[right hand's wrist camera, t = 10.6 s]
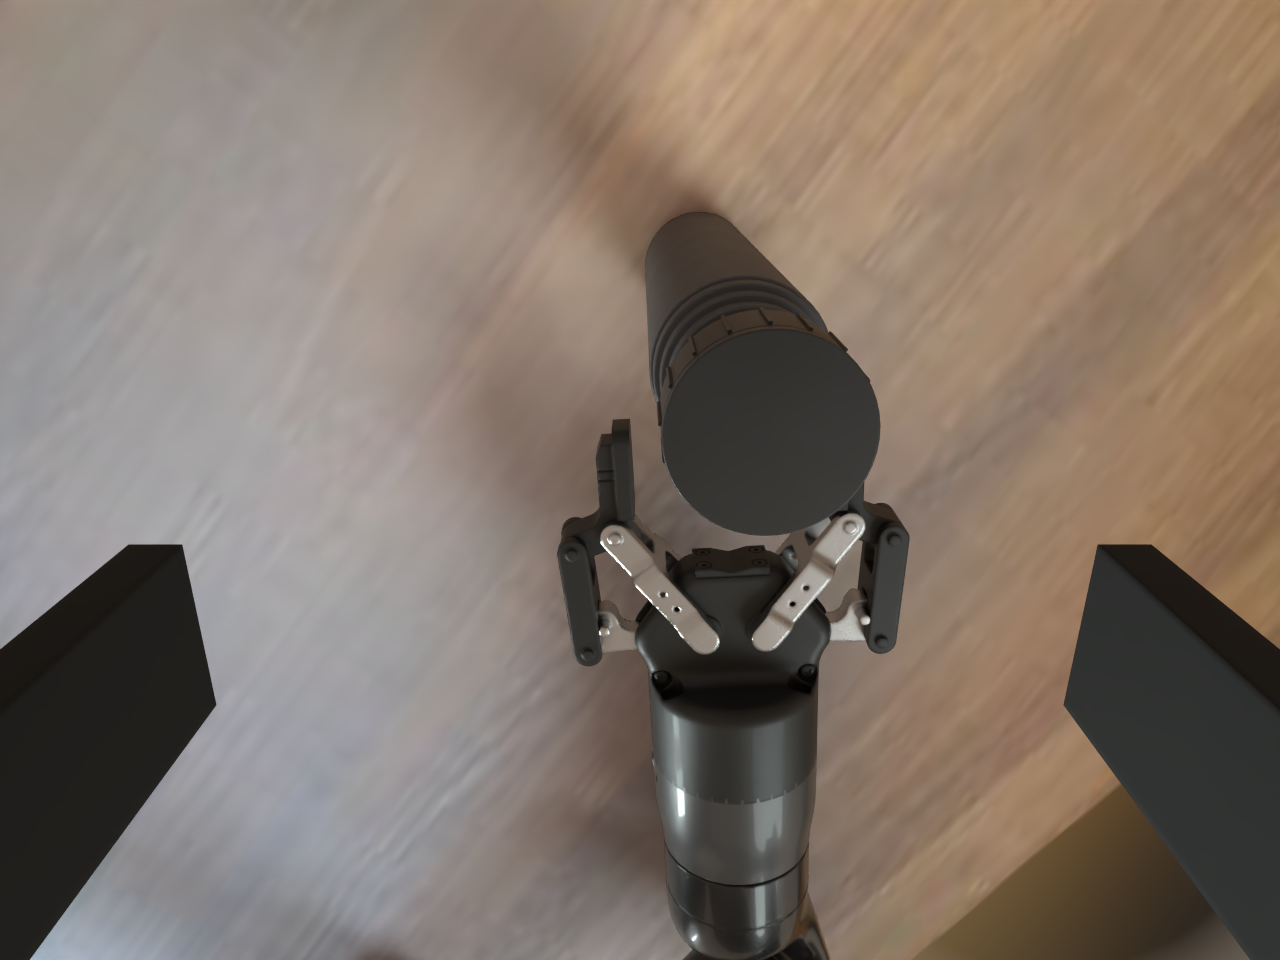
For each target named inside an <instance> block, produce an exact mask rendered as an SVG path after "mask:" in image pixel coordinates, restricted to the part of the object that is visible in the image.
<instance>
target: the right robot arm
mask: <svg viewBox="0 0 1280 960" xmlns="http://www.w3.org/2000/svg"><path fill="white" fill-rule="evenodd" d="M215 706H216V701H215V696H214V692H213V687H212V682H211V677H210V673H209V668H208V663H207V659H206V654H205V649H204V645H203V640H202V635H201V631H200V626H199V621H198V616H197V612H196V607H195V602H194V598H193V593H192V588H191V584H190V579H189V574H188V570H187V565H186V560H185V556H184V551H183V546H182V545H128V546H126V547H125V548H124V549H123V550H121V551H120V552H119V553H118V554H117V555H115V556H114V557H113V558H112V559H110V560H109V561H108V562H107V563H106V564H104V565H103V566H102V567H101V568H99V569H98V570H97V571H96V572H95V573H93V574H92V575H91V576H90V577H88V578H87V579H86V580H85V581H83V582H82V583H81V584H80V585H79V586H77V587H76V588H75V589H74V590H72V591H71V592H70V593H69V594H68V595H66V596H65V597H64V598H63V599H61V600H60V601H59V602H58V603H57V604H55V605H54V606H53V607H52V608H50V609H49V610H48V611H47V612H46V613H44V614H43V615H42V616H41V617H39V618H38V619H37V620H36V621H34V622H33V623H32V624H31V625H30V626H28V627H27V628H26V629H25V630H23V631H22V632H21V633H20V634H19V635H17V636H16V637H15V638H14V639H12V640H11V641H10V642H9V643H8V644H6V645H5V646H4V647H3V648H1V649H0V960H30V959H31V957H32V956H33V954H34V953H35V952H36V950H37V949H38V948H39V946H40V945H41V944H42V942H43V941H44V939H45V938H46V937H47V935H48V934H49V933H50V931H51V930H52V929H53V927H54V926H55V924H56V923H57V922H58V920H59V919H60V918H61V916H62V915H63V914H64V912H65V911H66V909H67V908H68V907H69V905H70V904H71V903H72V901H73V900H74V899H75V897H76V896H77V894H78V893H79V892H80V890H81V889H82V888H83V886H84V885H85V884H86V882H87V881H88V879H89V878H90V877H91V875H92V874H93V873H94V871H95V870H96V869H97V867H98V866H99V864H100V863H101V862H102V860H103V859H104V858H105V856H106V855H107V854H108V852H109V851H110V849H111V848H112V847H113V845H114V844H115V843H116V841H117V840H118V839H119V837H120V836H121V834H122V833H123V832H124V830H125V829H126V828H127V826H128V825H129V824H130V822H131V821H132V819H133V818H134V817H135V815H136V814H137V813H138V811H139V810H140V809H141V807H142V806H143V804H144V803H145V802H146V800H147V799H148V798H149V796H150V795H151V794H152V792H153V791H154V789H155V788H156V787H157V785H158V784H159V783H160V781H161V780H162V779H163V777H164V776H165V774H166V773H167V772H168V770H169V769H170V768H171V766H172V765H173V764H174V762H175V761H176V759H177V758H178V757H179V755H180V754H181V753H182V751H183V750H184V749H185V747H186V746H187V744H188V743H189V742H190V740H191V739H192V738H193V736H194V735H195V734H196V732H197V731H198V729H199V728H200V727H201V725H202V724H203V723H204V721H205V720H206V719H207V717H208V716H209V714H210V713H211V712H212V710H213V709H214V708H215ZM1064 706H1065V708H1066V709H1067V710H1068V712H1069V713H1070V714H1071V716H1072V717H1073V719H1074V720H1075V721H1076V723H1077V724H1078V725H1079V727H1080V728H1081V729H1082V731H1083V732H1084V734H1085V735H1086V736H1087V738H1088V739H1089V740H1090V742H1091V743H1092V744H1093V746H1094V747H1095V749H1096V750H1097V751H1098V753H1099V754H1100V755H1101V757H1102V758H1103V759H1104V761H1105V762H1106V764H1107V765H1108V766H1109V768H1110V769H1111V770H1112V772H1113V773H1114V774H1115V776H1116V777H1117V779H1118V780H1119V781H1120V783H1121V784H1122V785H1123V787H1124V788H1125V789H1126V791H1127V792H1128V794H1129V795H1130V796H1131V798H1132V799H1133V800H1134V802H1135V803H1136V804H1137V806H1138V807H1139V809H1140V810H1141V811H1142V813H1143V814H1144V815H1145V817H1146V818H1147V819H1148V821H1149V822H1150V824H1151V825H1152V826H1153V828H1154V829H1155V830H1156V832H1157V833H1158V834H1159V836H1160V837H1161V839H1162V840H1163V841H1164V843H1165V844H1166V845H1167V847H1168V848H1169V849H1170V851H1171V852H1172V854H1173V855H1174V856H1175V858H1176V859H1177V860H1178V862H1179V863H1180V864H1181V866H1182V867H1183V868H1184V870H1185V871H1186V873H1187V874H1188V875H1189V877H1190V878H1191V879H1192V881H1193V882H1194V883H1195V885H1196V886H1197V888H1198V889H1199V890H1200V892H1201V893H1202V894H1203V896H1204V897H1205V898H1206V900H1207V901H1208V903H1209V904H1210V905H1211V907H1212V908H1213V909H1214V911H1215V912H1216V914H1217V915H1218V916H1219V918H1220V919H1221V920H1222V922H1223V923H1224V924H1225V926H1226V927H1227V929H1228V930H1229V931H1230V933H1231V934H1232V935H1233V937H1234V938H1235V939H1236V941H1237V942H1238V943H1239V945H1240V946H1241V948H1242V949H1243V950H1244V952H1245V953H1246V954H1247V956H1248V957H1249V958H1250V960H1280V649H1279V648H1277V647H1276V646H1275V645H1274V644H1272V643H1271V642H1270V641H1269V640H1268V639H1266V638H1265V637H1264V636H1263V635H1261V634H1260V633H1259V632H1258V631H1257V630H1255V629H1254V628H1253V627H1252V626H1250V625H1249V624H1248V623H1247V622H1246V621H1244V620H1243V619H1242V618H1241V617H1239V616H1238V615H1237V614H1236V613H1234V612H1233V611H1232V610H1231V609H1230V608H1228V607H1227V606H1226V605H1225V604H1223V603H1222V602H1221V601H1220V600H1219V599H1217V598H1216V597H1215V596H1214V595H1212V594H1211V593H1210V592H1209V591H1208V590H1206V589H1205V588H1204V587H1203V586H1201V585H1200V584H1199V583H1198V582H1197V581H1195V580H1194V579H1193V578H1192V577H1190V576H1189V575H1188V574H1187V573H1185V572H1184V571H1183V570H1182V569H1181V568H1179V567H1178V566H1177V565H1176V564H1174V563H1173V562H1172V561H1171V560H1170V559H1168V558H1167V557H1166V556H1165V555H1163V554H1162V553H1161V552H1160V551H1159V550H1157V549H1156V548H1155V547H1154V546H1152V545H1098V546H1097V551H1096V556H1095V560H1094V565H1093V570H1092V574H1091V579H1090V584H1089V588H1088V593H1087V598H1086V602H1085V607H1084V612H1083V616H1082V621H1081V626H1080V631H1079V635H1078V640H1077V645H1076V649H1075V654H1074V659H1073V663H1072V668H1071V673H1070V677H1069V682H1068V687H1067V692H1066V696H1065V701H1064Z"/></svg>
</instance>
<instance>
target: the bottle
mask: <svg viewBox="0 0 1280 960" xmlns="http://www.w3.org/2000/svg"><path fill="white" fill-rule="evenodd" d="M645 272H646V295H647V318H648V342H649V365H650V381H651V386H652V391H653V394H654V397H655V400H656V402H657V401H660V397H661V391H662V387H663V383H664V380H665V377H666V368H667V366H669V367H670V366H671V364H672V362H673V360H674V359H675V357H676V356H677V354H678V353H679V352H680V350H681V349H682V348H683V346H684V345H685V344H686V343H687V342H688V341H689V340H688V337H690V336H692V337H693V336H695V335H696V334H697V333H698V332H699V331H701V330H702V329H703V328H705V327H707V326H708V325H710V324H712V323H713V322H715V321H717V320H719V319H721V316H722V315H725V317H726V316H729V315H732V314H736V313H739V312H744V311H750V310H759V307H763V308H764V309H765V310H777V311H783V312H788V313H792V314H795V315H797V313H801V314H802V315H803V317H804V318H805V319H807V320H809V321H811V322H813V323H815V324H816V325H818V326H819V327H821V328H822V329H823V330H825V331H826V332H827V333H828V330H827V328H826V325H825V323H824V321H823V320H822V318H821V316H820V314H819V313H818V312H817V310H816V309H815V308H814V306H813V305H812V304H811V303H810V302H809V301H808V300H807V299H806V298H805V297H804V296H803V295H802V294H801V293H800V292H799V291H798V290H797V289H796V288H795V287H794V286H793V285H792V284H791V283H790V282H789V281H788V280H787V279H786V278H785V277H784V276H783V275H782V274H781V273H780V272H779V271H778V270H777V269H776V268H775V267H774V266H773V265H772V264H771V263H770V262H769V261H768V260H767V259H766V258H765V257H764V256H763V255H762V254H761V253H760V252H759V251H758V250H757V249H756V248H755V247H754V246H753V245H752V244H751V243H750V242H749V241H748V240H747V239H746V238H745V237H744V236H743V235H742V234H741V233H740V232H739V231H738V230H737V229H736V228H735V227H734V226H733V225H732V224H731V223H730V222H728V221H727V220H725V219H724V218H722V217H720V216H717V215H715V214H711V213H705V212H692V213H687V214H684V215H680V216H678V217H676V218H674V219H672V220H671V221H669V222H668V223H666V224H665V225H664V226H663V227H662V228H661V229H660V230H659V231H658V232H657V234H656V235H655V236H654V238H653V240H652V242H651V244H650V246H649V249H648V251H647V256H646V263H645Z"/></svg>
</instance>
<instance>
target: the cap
mask: <svg viewBox="0 0 1280 960" xmlns="http://www.w3.org/2000/svg"><path fill="white" fill-rule="evenodd" d="M688 340H689V341H688V342H687V343H686V344H685V345H684V346H683V348H682V349H681V350H680V352H679V353H678V354H677V356H676V357H675V359H674V360H673V362H672V364H671V366H670V367H669V366H667V368H666V377H665V380H664V383H663V387H662V391H661V397H660V401H657V414H658V426H661V447H662V460H663V463H665V464H666V468H667V471H668V474H669V476H670V478H671V480H672V482H673V484H674V486H675V487H676V489H677V490H678V492H679V493H680V495H681V496H682V497H683V499H684V500H685V501H686V502H687V503H688V504H689V505H690V506H691V507H692V508H693V509H694V510H695V511H696V512H698V513H699V514H700V515H701V516H703V517H705V518H706V519H708V520H709V521H711V522H713V523H715V524H717V525H719V526H721V527H723V528H726V529H729V530H732V531H735V532H739V533H744V534H748V535H760V536H770V535H781V534H787V533H792V532H796V531H799V530H803V529H805V528H808V527H810V526H813V525H815V524H817V523H819V522H821V521H823V520H824V519H826V518H828V517H829V516H831V515H832V514H834V513H835V512H836V511H838V510H839V509H840V508H841V507H843V506H844V505H845V504H846V503H847V502H848V501H849V500H850V499H851V498H852V497H853V495H854V494H855V493H856V492H857V491H858V490H859V488H860V487H861V485H862V484H863V482H864V481H865V479H866V477H867V475H868V473H869V471H870V469H871V467H872V465H873V462H874V459H875V457H876V454H877V449H878V444H879V439H880V415H879V408H878V404H877V399H876V397H875V394H874V391H873V389H872V386H871V384H870V379H869V378H868V377H867V376H866V375H865V373H864V372H863V371H862V370H861V368H860V367H859V366H858V364H857V363H856V362H855V361H854V360H853V359H852V358H851V357H850V356H849V354H848V353H847V352H846V351H847V350H848V349H847V348H846V347H845V346H844V345H843V344H842V343H841V342H840V341H839V339H838V338H837V337H836V336H835V335H834V334H833V333H832V332H831V331H830V332H829V333H827V332H826V331H825V330H823V329H822V328H821V327H819V326H818V325H816V324H815V323H813V322H811V321H809V320H807V319H805V318H804V317H803V315H802V314H801V313H797V315H795V314H792V313H788V312H783V311H777V310H765V309H764V308H763V307H759V310H750V311H744V312H739V313H736V314H732V315H729V316H726V317H725V315H722V316H721V319H719V320H717V321H715V322H713V323H712V324H710V325H708V326H707V327H705V328H703V329H702V330H701V331H699V332H698V333H697V334H696V335H695V336H693V337H692V336H690V337H688Z"/></svg>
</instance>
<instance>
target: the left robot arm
mask: <svg viewBox="0 0 1280 960" xmlns="http://www.w3.org/2000/svg"><path fill="white" fill-rule="evenodd" d="M596 465H597V477H598V490H599V503H600V507H599V509H598V510H597V511H596V512H595V513H594V514H592V515H589V516H587V517H584V518H579V517H573V518H570V519H568V520H567V521H566V522H565V523H564V524H563V527H562V533H561V535H562V538H561V543H560V544H559V547H558V552H557V556H558V562H559V568H560V574H561V580H562V586H563V592H564V598H565V604H566V610H567V616H568V622H569V628H570V634H571V640H572V646H573V652H574V657H575V659H576V661H577V662H578V663H579V664H581V665H584V666H593V665H596V664H597V663H598V662H599V661H600V660H601V658H602V653H608V652H618V651H628V650H638V651H639V653H640V654H641V655H642V657H643V658H644V660H645V661H646V664H647V666H648V675H649V692H650V708H651V724H652V741H653V753H652V763H653V766H654V773H655V788H656V799H657V805H658V810H659V814H660V818H661V822H662V827H663V835H664V847H665V865H666V887H667V896H668V902H669V908H670V913H671V916H672V919H673V922H674V924H675V926H676V929H677V930H678V932H679V934H680V935H681V937H682V938H683V939H684V941H685V942H686V943H687V944H688V945H689V946H690V947H691V948H692V949H693V950H692V951H691V952H690V953H689V954H688V955H687V956H686V957H685V958H684V959H683V960H830V956H829V953H828V950H827V947H826V944H825V941H824V938H823V935H822V932H821V929H820V926H819V922H818V919H817V916H816V913H815V910H814V907H813V905H812V902H811V899H810V896H809V893H808V863H809V835H810V827H811V822H812V818H813V812H814V806H815V796H816V761H817V714H818V673H819V660H820V657H821V655H822V653H823V651H824V649H825V648H826V646H827V645H828V643H829V641H866V642H867V645H868V647H869V649H870V650H871V651H873V652H875V653H878V654H883V653H887V652H889V651H890V650H892V649H893V647H894V646H895V644H896V638H897V630H898V623H899V615H900V608H901V600H902V592H903V585H904V577H905V569H906V562H907V554H908V546H909V534H908V532H907V531H906V529H905V528H904V526H903V524H902V523H901V521H900V520H899V518H898V517H897V515H896V514H895V512H894V511H893V509H892V508H891V507H890V506H889V505H888V504H885V503H877V504H872V503H869V502H866V501H864V500H863V499H864V482H863V484H862V485H861V487H860V488H859V490H858V491H857V492H856V493H855V494H854V495H853V497H852V498H851V499H850V500H849V501H848V502H847V503H846V504H845V505H844V506H843V507H841V508H840V509H839V510H838V511H836V512H835V513H834V514H832V515H831V516H829V517H828V518H826V519H824V520H823V521H821V522H819V523H817V524H815V525H813V526H810V527H808V528H805V529H803V530H799V531H796V532H792V533H791V534H790V535H789V537H788V538H787V539H786V540H785V541H784V543H783V544H782V545H781V546H780V548H779V549H778V550H777V551H776V552H775V553H774V552H771V551H767V550H765V547H764V545H759V546H745V547H742V548H738V549H735V550H731V551H724V550H718V549H713V548H697V549H692V552H693V554H689V555H687V556H685V557H683V558H681V559H680V558H679V557H678V556H677V555H676V554H675V552H674V551H673V550H672V549H671V548H670V547H669V546H668V545H667V544H666V543H665V542H664V541H663V540H662V538H661V537H660V536H659V535H657V534H656V533H652V532H651V531H650V530H649V529H648V528H647V527H646V526H645V525H644V524H643V523H642V522H641V521H640V520H639V518H638V517H637V516H636V515H635V491H634V475H633V459H632V443H631V427H630V419H616V420H613V424H612V434H602V435H601V438H600V441H599V443H598V447H597V454H596ZM857 540H861V541H863V544H862V553H861V562H860V572H859V581H858V589H854V588H853V589H850V590H849V591H848V592H847V594H846V595H845V596H844V598H843V601H842V604H841V606H840V607H839V608H838V609H836V610H834V611H832V612H826V610H825V608H824V607H823V605H822V604H821V603H820V601H819V600H818V599H817V598H816V597H817V596H818V595H819V594H820V592H821V591H822V590H823V589H824V588H825V587H826V585H827V584H828V583H829V582H830V581H831V579H832V578H833V576H834V573H835V569H836V566H837V564H838V563H839V562H840V560H841V559H842V558H843V557H844V556H845V554H846V553H847V552H848V551H849V550H850V549H851V547H852V546H853V545H854V544H855V543H856V542H857ZM605 551H608V552H609V553H610V554H611V555H612V557H613V558H614V559H615V560H616V561H617V562H618V563H619V564H620V565H621V566H622V567H623V568H624V569H625V570H626V571H627V572H628V573H629V574H630V576H631V578H632V580H633V582H634V584H635V586H636V587H637V588H638V589H639V591H640V592H641V593H642V594H643V595H644V596H645V597H646V598H647V599H648V601H647V603H646V604H645V605H644V607H643V608H642V609H641V611H640V612H639V614H638V615H637V618H636V621H629V620H626V619H624V618H623V617H622V616H621V615H620V613H619V610H618V608H617V606H616V605H615V604H613V603H612V602H610V601H608V600H604V601H601V598H600V591H599V585H598V578H597V572H596V565H595V558H594V556H595V555H598V554H600V553H603V552H605Z"/></svg>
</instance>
